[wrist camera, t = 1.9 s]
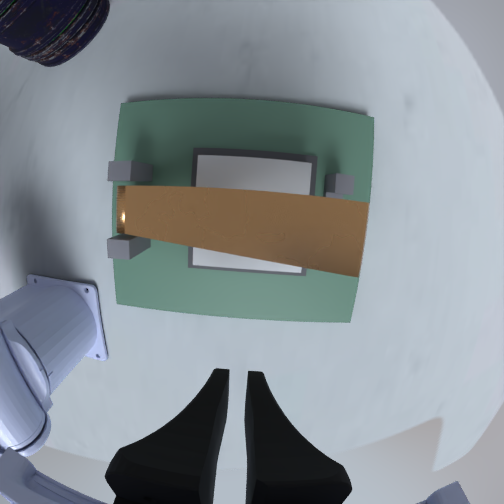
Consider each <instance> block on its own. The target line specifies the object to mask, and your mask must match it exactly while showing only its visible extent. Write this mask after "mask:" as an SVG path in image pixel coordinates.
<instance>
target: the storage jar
mask: <svg viewBox="0 0 504 504" xmlns="http://www.w3.org/2000/svg"><path fill="white" fill-rule="evenodd" d="M108 13H109V1H108V0H0V44H3V45H5V46H7V47H9V50H10V51H11V52H13V53H14V54H15V55H17V56H21V57H23V58H26V59H28V60H30V61H35V62H38V63H39V64H41V65H44V66H47V67H53V66H57V65H60V64H62V63H64V62H66V61H68V60H70V59H71V58H72V57H74V56H75V55H77V54H78V53H79V52H80V51H82V50H83V49H84V48H85V47H86V46H87V45H88V44H89V43H90V42H91V41H92V40H93V38H94V37H95V36H96V35H97V33H98V32H99V31H100V29H101V28H102V26H103V24H104V23H105V21H106V18H107V16H108Z"/></svg>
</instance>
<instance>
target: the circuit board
mask: <svg viewBox="0 0 504 504" xmlns="http://www.w3.org/2000/svg"><path fill="white" fill-rule="evenodd" d="M373 146H374V117H370V116H366V115H361V114H357V113H352V112H347V111H342V110H336V109H331V108H325V107H318V106H312V105H305V104H297V103H288V102H279V101H268V100H254V99H235V98H182V99H162V100H149V101H138V102H129V103H121V108H120V114H119V122H118V130H117V139H116V148H115V160H114V161H110V162H109V166H108V181H113V199H112V237H111V238H109V239H107V251H108V258H113V264H114V279H115V291H116V301H117V304H121V305H127V306H134V307H141V308H148V309H156V310H164V311H172V312H180V313H189V314H199V315H209V316H220V317H232V318H245V319H260V320H277V321H300V322H343V323H350V321H351V316H352V312H353V307H354V302H355V297H356V292H357V287H358V282H359V277H358V278H357V277H352V276H346V275H341V274H335V273H330V272H324V271H319V270H313V269H308V268H303V267H297V266H292V265H286V264H281V263H276V262H270V261H265V260H259V259H254V258H249V257H243V256H238V255H233V254H227V253H222V252H217V251H212V250H206V249H201V248H196V247H191V246H185V245H180V244H175V243H170V242H164V241H159V240H154V239H149V238H144V237H139V236H133V235H128V234H119V233H116V203H117V186H186V187H210V188H229V189H244V190H258V191H270V192H282V193H292V194H302V195H312V196H321V197H329V198H337V199H345V200H353V201H361V202H368V203H370V194H371V182H372V167H373ZM359 276H360V274H359Z"/></svg>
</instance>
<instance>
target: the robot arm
mask: <svg viewBox="0 0 504 504" xmlns="http://www.w3.org/2000/svg"><path fill="white" fill-rule="evenodd" d="M36 280H37V281H36ZM27 283H28V285H26V286H24V287H22V288H20V289H18V290H16V291H15V292H13V293H11V294H9V295H7V296H5V297H4V298H2V299H0V494H1V495H2V496H3V497H4V498H5V499H6V500H7V501H9V502H10V503H11V504H107V503H104V502H101V501H99V500H96V499H93V498H91V497H89V496H87V495H84V494H82V493H80V492H78V491H75V490H73V489H71V488H69V487H67V486H65V485H63V484H61V483H59V482H57V481H55V480H53V479H52V478H50V477H48V476H46V475H44V474H43V473H41V472H39V471H37V470H36V468H35V467H34V465H33V464H32V463H31V462H30V461H29V460H28V459H27V458H25V457H28V456H30V455H32V454H34V453H35V452H37V451H38V450H39V449H40V448H41V447H42V446H43V445H44V444H45V442H46V440H47V438H48V436H49V434H50V430H51V420H50V417H49V415H48V414H47V412H48V410H49V409H50V408H51V407H52V405H53V403H52V401H51V399H50V395H51V394H52V393H53V391H54V390H55V389H56V388H57V387H58V386H59V384H60V383H61V382H62V381H63V380H64V379H65V377H66V376H67V375H68V374H69V373H70V372H71V371H72V369H73V368H74V367H75V366H76V365H77V364H78V363H79V362H80V361H81V359H82V358H83V357H84V356H86V357H90V358H93V359H97V360H101V361H106V360H107V358H108V355H107V350H106V345H105V340H104V334H103V328H102V322H101V316H100V309H99V301H98V293H97V288H96V287H95V286H94V285H91V284H85V283H79V282H72V281H66V280H61V279H55V278H49V277H44V276H38V275H33V274H29V275H28V276H27ZM86 288H88V290H89V292H88V291H87V289H86ZM98 354H99V355H100V356H99V355H98ZM228 396H229V369H219V368H216V369H214V370H213V372H212V374H211V376H210V377H209V379H208V381H207V382H206V384H205V385H204V386H203V388H202V389H201V390H200V392H199V393H198V394H197V395H196V397H195V398H194V399H193V400H192V401H191V402H190V403H189V404H188V405H187V406H186V407H185V408H184V409H183V410H182V411H181V412H180V413H179V414H178V415H177V416H176V417H175V418H173V419H172V420H171V421H169V422H168V423H167V424H166V425H164V426H163V427H161V428H160V429H158V430H157V431H155V432H153V433H152V434H150V435H148V436H146V437H145V438H143V439H141V440H139V441H137V442H134V443H132V444H130V445H127V446H125V447H122V448H120V449H119V450H118V451H117V453H116V454H115V456H114V457H113V459H112V460H111V462H110V464H109V467H108V469H107V471H106V474H105V479H106V481H107V483H108V484H109V486H110V487H111V489H112V490H113V491H114V493H115V494H116V498H115V500H114V503H113V504H213V497H214V486H215V477H216V468H217V460H218V455H219V450H220V446H221V442H222V437H223V433H224V428H225V424H226V419H227V409H228ZM244 421H245V436H246V450H247V484H246V504H342V503H343V502H344V501H345V499H346V498H347V496H349V494H350V493H351V491H352V486H351V482H350V479H349V477H348V474H347V472H346V470H345V468H344V467H343V466H342V465H341V464H339V463H337V462H336V461H334V460H332V459H330V458H329V457H327V456H326V455H325V454H323V453H322V452H321V451H319V450H318V449H317V448H316V447H314V446H313V445H312V444H311V443H310V442H309V441H308V440H307V439H305V438H304V437H303V436H302V435H301V434H300V433H299V432H298V430H297V429H296V428H295V427H294V426H293V425H292V424H291V422H290V421H289V420H288V418H287V417H286V416H285V414H284V413H283V411H282V410H281V408H280V407H279V405H278V404H277V402H276V400H275V398H274V397H273V395H272V393H271V391H270V389H269V386H268V384H267V382H266V379H265V376H264V373H263V372H258V371H248V378H247V390H246V401H245V419H244ZM417 504H470V503H469V501H468V499H467V497H466V495H465V494H464V492H463V490H462V488H461V486H460V484H459V483H458V481H456V482H453V483H451V484H449V485H447V486H445V487H443V488H441V489H438V490H437V491H435V492H434V493H432V494H431V495H430V496H429V497H428V498H427V500H424V501H422V502H419V503H417Z"/></svg>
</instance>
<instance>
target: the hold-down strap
mask: <svg viewBox="0 0 504 504" xmlns="http://www.w3.org/2000/svg"><path fill="white" fill-rule="evenodd" d="M369 205H370V203H368V202H361V201H353V200H345V199H337V198H329V197H321V196H312V195H302V194H292V193H282V192H270V191H258V190H244V189H229V188H210V187H186V186H117V203H116V233H119V234H128V235H133V236H139V237H144V238H149V239H154V240H159V241H164V242H170V243H175V244H180V245H185V246H191V247H196V248H201V249H206V250H212V251H217V252H222V253H227V254H233V255H238V256H243V257H249V258H254V259H259V260H265V261H270V262H276V263H281V264H286V265H292V266H297V267H303V268H308V269H313V270H319V271H324V272H330V273H335V274H341V275H346V276H352V277H357V278H358V277H359V274H360V270H361V265H362V259H363V252H364V245H365V238H366V231H367V223H368V214H369Z"/></svg>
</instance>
